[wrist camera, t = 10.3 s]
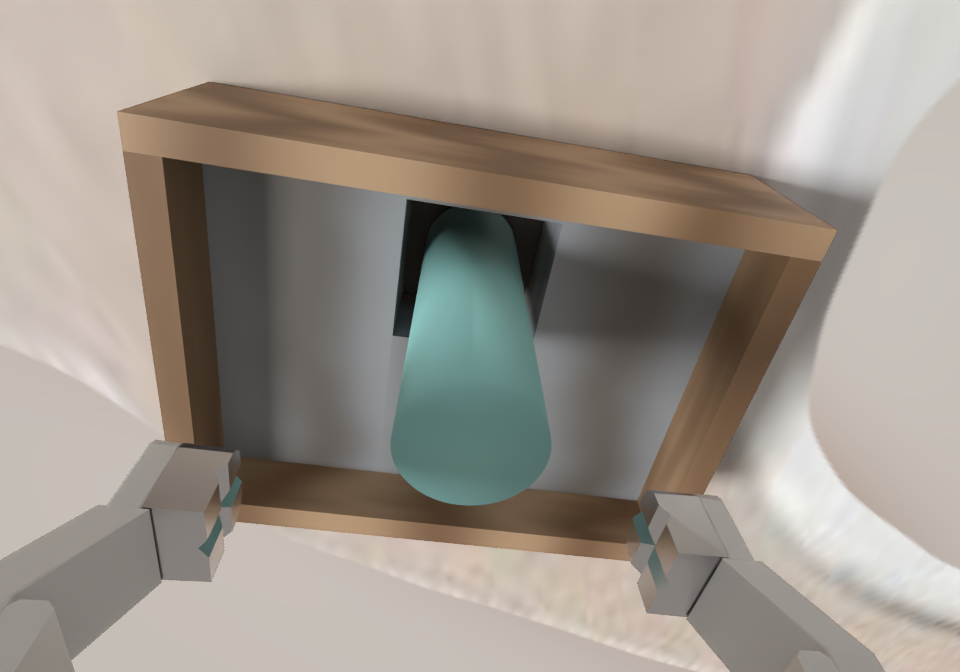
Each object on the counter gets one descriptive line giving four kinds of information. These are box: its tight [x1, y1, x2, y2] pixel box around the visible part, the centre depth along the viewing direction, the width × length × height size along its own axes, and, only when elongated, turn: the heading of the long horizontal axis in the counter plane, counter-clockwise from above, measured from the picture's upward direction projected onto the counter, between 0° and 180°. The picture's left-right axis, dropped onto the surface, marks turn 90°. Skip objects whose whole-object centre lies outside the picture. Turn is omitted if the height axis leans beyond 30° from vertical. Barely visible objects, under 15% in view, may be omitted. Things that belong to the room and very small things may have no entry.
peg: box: [390, 207, 552, 506], centre depth 18 cm, size 4×4×12 cm
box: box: [117, 82, 838, 561], centre depth 22 cm, size 20×15×6 cm
